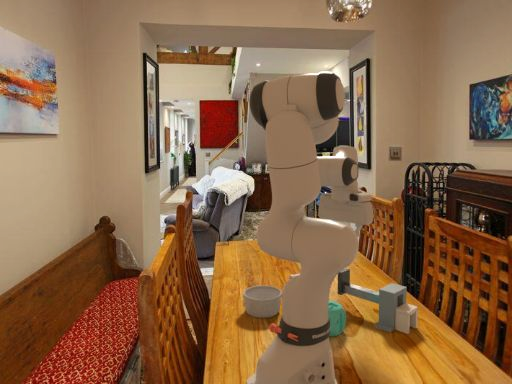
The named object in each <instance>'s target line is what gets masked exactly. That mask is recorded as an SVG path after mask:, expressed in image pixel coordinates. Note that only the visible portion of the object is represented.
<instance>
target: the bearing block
mask: <svg viewBox="0 0 512 384" xmlns="http://www.w3.org/2000/svg"><path fill="white" fill-rule="evenodd" d="M407 289H408V288H407V286H404V285H400V284H397V283H392V282H390V283H389V284H387V285H385V286H382V287H381V288H379V289H378V292H379V304H378V321H376V323H374V328H376V329H379V330H382V331H384V332H387V333H391V332H393V331H395V309H396V308H398V307H399V306H401V305H403V304H404V303H407Z"/></svg>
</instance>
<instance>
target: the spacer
mask: <svg viewBox="0 0 512 384" xmlns="http://www.w3.org/2000/svg"><path fill="white" fill-rule="evenodd" d="M418 308H419V307H418V306H417V305H413V304H409V303H407V302H406V303H404V304H403V305H401V306H399V307H398V308H396V309H395V330H396V331H398V332H401V333H404V334H406V335H408V334H410V328H413V329H417V328H418V313H419V312H418V310H419V309H418ZM395 330H394V331H395Z"/></svg>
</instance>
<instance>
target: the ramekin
mask: <svg viewBox="0 0 512 384" xmlns="http://www.w3.org/2000/svg"><path fill="white" fill-rule="evenodd" d="M242 295H243V296H242V297H243V299H244V300H243V302H244V307H245V311H246V313H247V314H248V315H249V316H250V317H253V318H257V319H268V318H272V317H274V316H276V315H277V314H278V313H279V311H280V310H281V304H282V289H280V288H279V287H277V286H273V285H262V284H261V285H260V284H259V285H254V286H250V287H248V288H246V289H244V291H243V292H242Z"/></svg>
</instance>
